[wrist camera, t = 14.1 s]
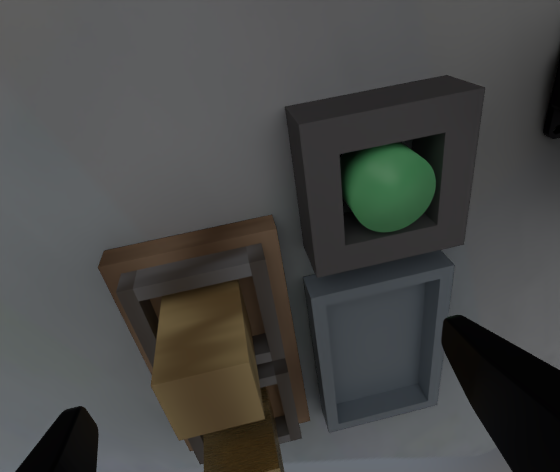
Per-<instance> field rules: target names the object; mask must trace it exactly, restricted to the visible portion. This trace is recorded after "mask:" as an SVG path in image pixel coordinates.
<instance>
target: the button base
mask: <svg viewBox="0 0 560 472" xmlns="http://www.w3.org/2000/svg"><path fill="white" fill-rule="evenodd" d="M484 93H485V87H482V86H479V85H476V84H473V83H469V82H466V81H463V80H460V79H457V78H454V77H451V76H448V75H445V76H440V77H435V78H430V79H425V80H420V81H414V82H409V83H404V84H399V85H394V86H389V87H384V88H379V89H374V90H368V91H363V92H358V93H353V94H348V95H343V96H338V97H333V98H327V99H322V100H317V101H312V102H307V103H302V104H297V105H292V106H286V107H285V110H286V118H287V125H288V132H289V140H290V147H291V155H292V162H293V170H294V177H295V184H296V192H297V199H298V207H299V214H300V222H301V229H302V237H303V244H304V248H305V250H306V253H307V255H308V258H309V260H310V262H311V265H312V267H313V270H314V272H315V274H316V277H317V278H319V277H323V276H328V275H332V274H337V273H341V272H345V271H350V270H354V269H358V268H363V267H367V266H372V265H376V264H380V263H385V262H389V261H394V260H398V259H402V258H407V257H411V256H415V255H420V254H424V253H429V252H433V251H437V250H442V249H446V248H450V247H455V246H459V245H464V239H465V232H466V225H467V217H468V210H469V203H470V195H471V188H472V181H473V173H474V166H475V159H476V151H477V144H478V137H479V129H480V122H481V115H482V107H483V100H484ZM411 139H413V148H412V150H413V151H414V152H415V153H417V154H418V155H419V156H421V157H422V158H424V159H425V160H426V161H427V162H428V163H429V164H430V165H431V167H432V169H433V171H434V174H435V179H436V188H435V193H434V196H433V199H432V201H431V203H430V205H429V207H428V208H427V209H426V211H425V212H424V213H423V214H422V215H421V216H420V217H419V218H418V219H417V220H416V221H415V222H413V223H412V224H410V225H409V226H407V227H405V228H402V229H400V230H397V231H392V232H377V231H373V230H370V229H368V228H366V227H365V226H363V225H362V224H361V223H360V222H359V220H358V219H357V218H356V216H355V215H354V213H353V212H349V213H344V214H343V201H342V185H341V169H340V154H343V153H348V152H353V151H358V150H363V149H367V148H372V147H377V146H382V145H387V144H392V143H397V142H401V141H406V140H411Z"/></svg>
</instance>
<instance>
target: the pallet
mask: <svg viewBox="0 0 560 472" xmlns="http://www.w3.org/2000/svg"><path fill="white" fill-rule="evenodd" d="M98 269H99V271H100V273H101V275H102V277H103V279H104V281H105V283H106V285H107V287H108V289H109V291H110V293H111V295H112V297H113V299H114V301H115V303H116V305H117V307H118V309H119V311H120V313H121V315H122V317H123V319H124V321H125V323H126V325H127V327H128V329H129V331H130V333H131V334H132V336H133V338H134V340H135V342H136V344H137V346H138V348H139V350H140V352H141V354H142V356H143V358H144V360H145V362H146V364H147V366H148V368H149V370H150V372H151V374H152V380H151V387H152V389H153V391H154V393H155V395H156V397H157V399H158V401H159V403H160V405H161V407H162V409H163V411H164V412H165V414H166V416H167V418H168V420H169V422H170V424H171V426H172V428H173V430H174V432H175V434H176V436H177V438H178V440H179V441H180V440H185V442H186V444H187V446H188V448H189V450H190V451H194V453H195V455H196V457H197V459H198V461H199V463H200V464H203V463H204V436H203V435H204V434H208V433H212V432H216V431H220V430H224V429H228V428H232V427H236V426H240V425H243V424H247V423H251V422H255V421H259V420H263V419H265V415H264V408H263V402H262V396H261V389H260V388H262V387H266V386H267V389H268V393H269V397H270V400H271V404H272V408H273V412H274V417H275V423H276V428H277V434H278V439H279V444H281V443H285V442H289V441H293V440H297V439H301V438H302V436H301V431H300V427H299V423H303V422H307V421H310V417H309V411H308V406H307V400H306V394H305V389H304V383H303V377H302V371H301V366H300V360H299V354H298V349H297V343H296V337H295V332H294V326H293V320H292V315H291V309H290V303H289V297H288V292H287V286H286V280H285V275H284V269H283V263H282V258H281V252H280V246H279V240H278V235H277V229H276V226H275V223H274V220H273V217H272V215H268V216H263V217H259V218H254V219H249V220H245V221H240V222H235V223H231V224H226V225H221V226H217V227H212V228H207V229H203V230H198V231H194V232H189V233H184V234H180V235H175V236H170V237H166V238H161V239H156V240H152V241H147V242H142V243H138V244H133V245H128V246H124V247H119V248H114V249H110V250H105V251H104V252H103V255H102V258H101V260H100V263H99V266H98Z"/></svg>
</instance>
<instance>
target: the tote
mask: <svg viewBox="0 0 560 472" xmlns="http://www.w3.org/2000/svg"><path fill="white" fill-rule="evenodd" d="M454 267H455V265H454V264H453V263H452V262H451V261H450V260H449V259H448V258H447V256H446V255H445V254H444V253H443V252H442V251H441V250H437V251H433V252H429V253H424V254H420V255H415V256H411V257H407V258H402V259H398V260H394V261H389V262H385V263H380V264H376V265H372V266H367V267H363V268H358V269H354V270H350V271H345V272H341V273H337V274H332V275H328V276H323V277H319V278H317V277H316V274H314V275H310V276H305V277H303V281H304V288H305V294H306V301H307V308H308V315H309V322H310V329H311V336H312V343H313V350H314V357H315V364H316V371H317V378H318V385H319V392H320V399H321V406H322V411H323V414H324V418H325V421H326V425H327V428H328V431H329V433H330V432H334V431H338V430H342V429H346V428H350V427H353V426H357V425H361V424H365V423H369V422H373V421H377V420H381V419H384V418H388V417H392V416H396V415H400V414H404V413H408V412H412V411H416V410H419V409H423V408H427V407H431V406H435V405H437V402H438V394H439V386H440V378H441V370H442V362H443V354H444V350H443V347H442V344H441V335H442V327H443V320H444V319H445V318H447V317H448V314H449V306H450V298H451V290H452V282H453V275H454Z"/></svg>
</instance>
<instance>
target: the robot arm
mask: <svg viewBox="0 0 560 472" xmlns="http://www.w3.org/2000/svg"><path fill="white" fill-rule="evenodd" d="M556 126H557V127H556ZM555 127H556V129H555V130H554V128H555ZM553 130H554V131H553ZM543 133H544V135H545V136H547V137H550V138H552V139H556V138H560V59H559V64H558V68H557V72H556V77H555V81H554V86H553V90H552V94H551V99H550V103H549V108H548V112H547V116H546V121H545V125H544V131H543ZM441 344H442V347H443V350H444V352H445V354H446V356H447V358H448V360H449V362H450V364H451V366H452V368H453V370H454V372H455V374H456V376H457V378H458V380H459V382H460V384H461V386H462V388H463V390H464V393H465V395H466V397H467V398H468V400H469V402H470V404H471V406H472V408H473V409H474V411H475V413H476V414H477V416H478V417H479V419H480V421H481V422H482V424H483V425H484V427H485V429H486V430H487V432H488V433H489V435H490V437H491V438H492V440H493V441H494V443H495V444H496V446H497V448H498V449H499V451H500V452H501V454H502V456H503V457H504V459H505V460H506V462H507V464H508V465H509V467H510V468H511V470H512V471H513V472H560V370H558V369H557V368H555V367H553V366H551V365H550V364H548V363H546V362H544V361H542V360H541V359H539V358H537V357H535V356H534V355H532V354H530V353H528V352H526V351H525V350H523V349H521V348H519V347H518V346H516V345H514V344H512V343H510V342H509V341H507V340H505V339H503V338H502V337H500V336H498V335H496V334H494V333H493V332H491V331H489V330H487V329H486V328H484V327H482V326H480V325H479V324H477V323H475V322H473V321H471V320H470V319H468V318H466V317H464V316H462V315H455V316H451V317H447V318H445V319H444V320H443V327H442V335H441ZM97 451H98V427H97V425H96V423H95V422H94V420H93V419H92V417H91V416H90V414H89V413H88V411H87V410H86V409H85V408H84V407H82V406H78V407H74V408H70V409H67V410H65V411H63V412H62V413H61V414H60V415H59V417H58V418H57V419H56V421H55V422H54V423H53V424H52V426H51V427H50V428H49V429H48V431H47V432H46V433H45V435H44V436H43V437H42V438H41V440H40V441H39V442H38V443H37V445H36V446H35V447H34V449H33V450H32V451H31V452H30V454H29V455H28V456H27V457H26V459H25V460H24V461H23V463H22V464H21V465H20V466H19V468H18V469H17V470H16V471H15V472H96V467H97Z"/></svg>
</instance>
